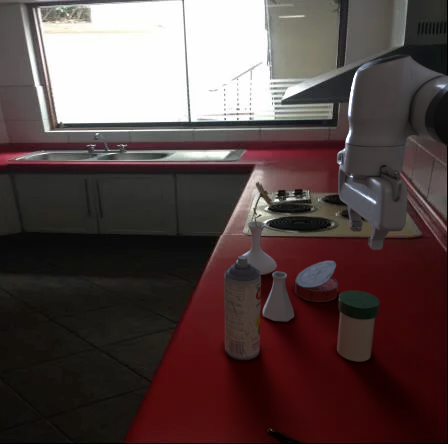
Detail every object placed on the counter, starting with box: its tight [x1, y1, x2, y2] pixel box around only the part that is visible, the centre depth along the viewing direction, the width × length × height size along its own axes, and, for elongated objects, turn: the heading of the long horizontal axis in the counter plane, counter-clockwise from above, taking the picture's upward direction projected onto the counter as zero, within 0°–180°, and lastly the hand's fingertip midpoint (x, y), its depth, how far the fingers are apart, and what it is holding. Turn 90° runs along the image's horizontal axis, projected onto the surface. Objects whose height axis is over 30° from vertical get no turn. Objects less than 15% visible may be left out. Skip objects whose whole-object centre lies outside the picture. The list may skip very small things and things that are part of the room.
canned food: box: [294, 260, 339, 303], centre depth 103 cm, size 11×10×10 cm
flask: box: [262, 270, 295, 322], centre depth 94 cm, size 7×7×10 cm
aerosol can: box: [223, 255, 262, 361], centre depth 80 cm, size 7×7×20 cm
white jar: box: [336, 311, 376, 363], centre depth 79 cm, size 6×6×11 cm
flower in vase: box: [235, 181, 278, 276], centre depth 115 cm, size 13×11×25 cm
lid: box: [337, 290, 381, 320], centre depth 77 cm, size 7×7×2 cm
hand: (364, 238), depth 73 cm, fingers open, 8 cm apart
